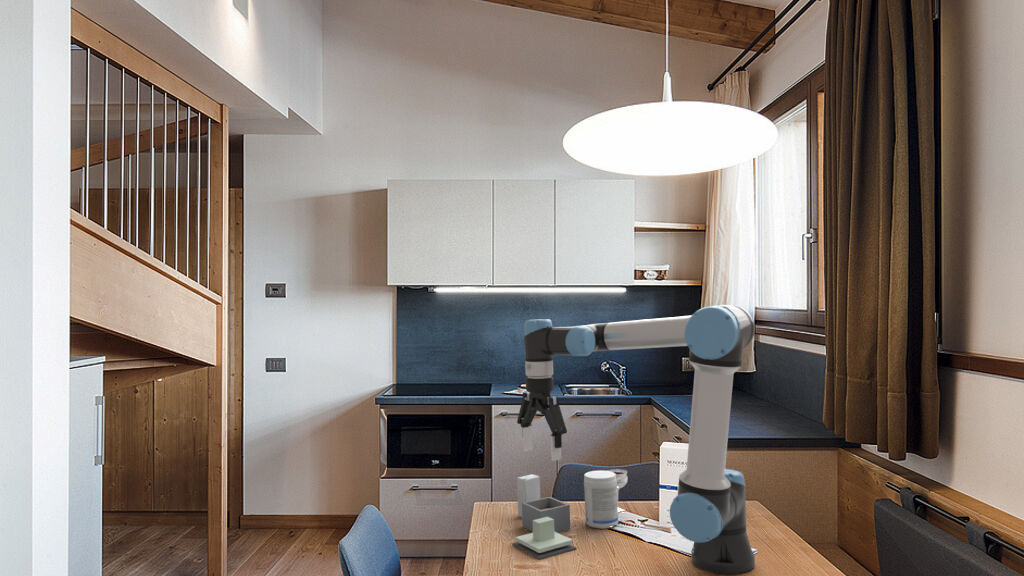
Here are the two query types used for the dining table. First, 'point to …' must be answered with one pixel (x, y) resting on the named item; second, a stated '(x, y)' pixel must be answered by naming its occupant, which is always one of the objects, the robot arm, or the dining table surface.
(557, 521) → the storage box
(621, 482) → the wineglass
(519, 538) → the lid
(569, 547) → the mat
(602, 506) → the supplement tub
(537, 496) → the skincare box
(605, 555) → the dining table surface
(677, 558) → the dining table surface
